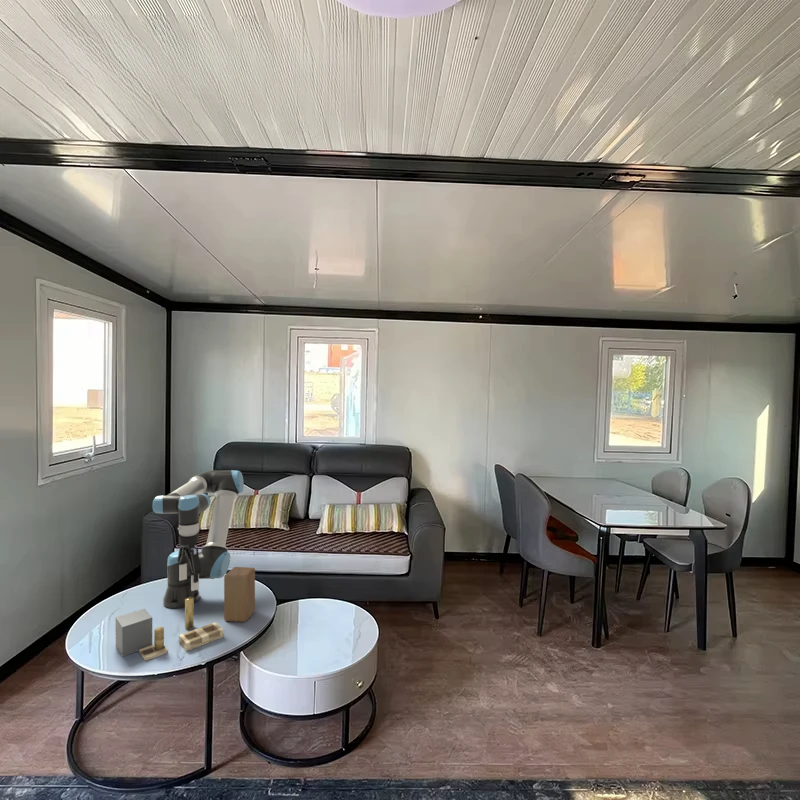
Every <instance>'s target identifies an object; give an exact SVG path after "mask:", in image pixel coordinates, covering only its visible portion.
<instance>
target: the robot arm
mask: <svg viewBox="0 0 800 800" xmlns="http://www.w3.org/2000/svg"><path fill="white" fill-rule="evenodd" d="M244 488H245V487H244V477H243V474H242V471H240V470H233V469H231V470H230V469H228V470H225V469H224V470H213V469H212V470H207V471H204V472H201V473H199V474H196V475H194V476H193V477H191V478H190V479H189V480H188V482H186V483H185V484H183V485H182V486H180V487H178V488H177V489H175V490H174V491H172V492H170V493H168V494H167V495H156V496H155V497H154V499H153V500H152V505H151V506H152V511H153V512H154V513H155V514H162V515H163V514H167V515H168V514H178V527H177V531H178V534H179V535H178V545H179V549H177V550H175V551H173V552H171V553H170V554H169V556H167V564H166V566H167V567H166V568H167V573H166V574H167V586H166V590H165V593H164V595H163V599H162V601H163V602H162V603H163V606H164V607H166V608H170V609H178V608H179V609H180V608H185V599H186V598H188V597H193V598H194V604H195V603H196V602H198V601H199V599H200V591H199V589H200V580H201V579H202V580H206V579H207V580H215V579H221V578H224V576H225V575H226V574H227V573H228V570H229V567H230V562H231V554H230V552H229V549H228V547H227V546H226V543H227V537H228V533H229V528H230V523H231V517H232V512H233V507H234V504H235V503H234V502H235V500H236V499H238V498H239V494H242V493H243V492H244ZM207 494H214V497H215V503H214V508H213V513H212V517H211V522H210V526H209V529H208V535H207V540H206V544H205V545H204V546H202V547H201V550H200V552H199V548H198V547H197V548H196V547H195V545H196V544H197V543H199V541H200V534H199V532H200V514H202V513H204V512H205V511H206V510H208V509H209V507H210V505H211V498H210V496H209V495H207Z"/></svg>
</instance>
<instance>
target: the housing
mask: <svg viewBox="0 0 800 800" xmlns="http://www.w3.org/2000/svg"><path fill="white" fill-rule="evenodd" d="M151 645H153V617H152V615H151V614H150V613H149V612H148V611H147V610H146V608H140V609H138V610H134V611H132V612H129V613H125V614H121V615H119V616H115V646H116V649H117V650H118V651H119V654H120V655H121V657H125V656H127V655H132V654H133V653H136V652H139V649H142V648H145V647H148V646H151Z"/></svg>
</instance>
